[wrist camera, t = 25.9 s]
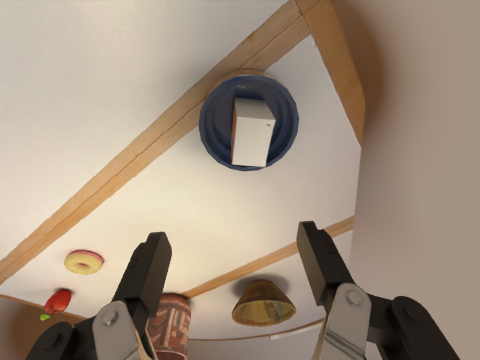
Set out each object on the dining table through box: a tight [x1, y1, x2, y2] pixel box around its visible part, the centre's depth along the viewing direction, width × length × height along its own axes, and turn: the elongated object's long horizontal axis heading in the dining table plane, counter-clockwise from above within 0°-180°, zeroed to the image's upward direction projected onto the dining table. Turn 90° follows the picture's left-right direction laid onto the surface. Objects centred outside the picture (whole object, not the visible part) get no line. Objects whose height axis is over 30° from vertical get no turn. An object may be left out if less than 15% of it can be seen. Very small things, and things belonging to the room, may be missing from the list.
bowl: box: [232, 280, 296, 327], centre depth 73 cm, size 22×23×10 cm
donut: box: [64, 251, 103, 275], centre depth 60 cm, size 10×5×9 cm
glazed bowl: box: [199, 69, 299, 171], centre depth 36 cm, size 17×17×6 cm
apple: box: [40, 290, 71, 321], centre depth 68 cm, size 8×7×10 cm
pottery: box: [146, 294, 191, 360], centre depth 73 cm, size 18×18×18 cm
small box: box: [231, 97, 276, 167], centre depth 33 cm, size 8×6×10 cm
